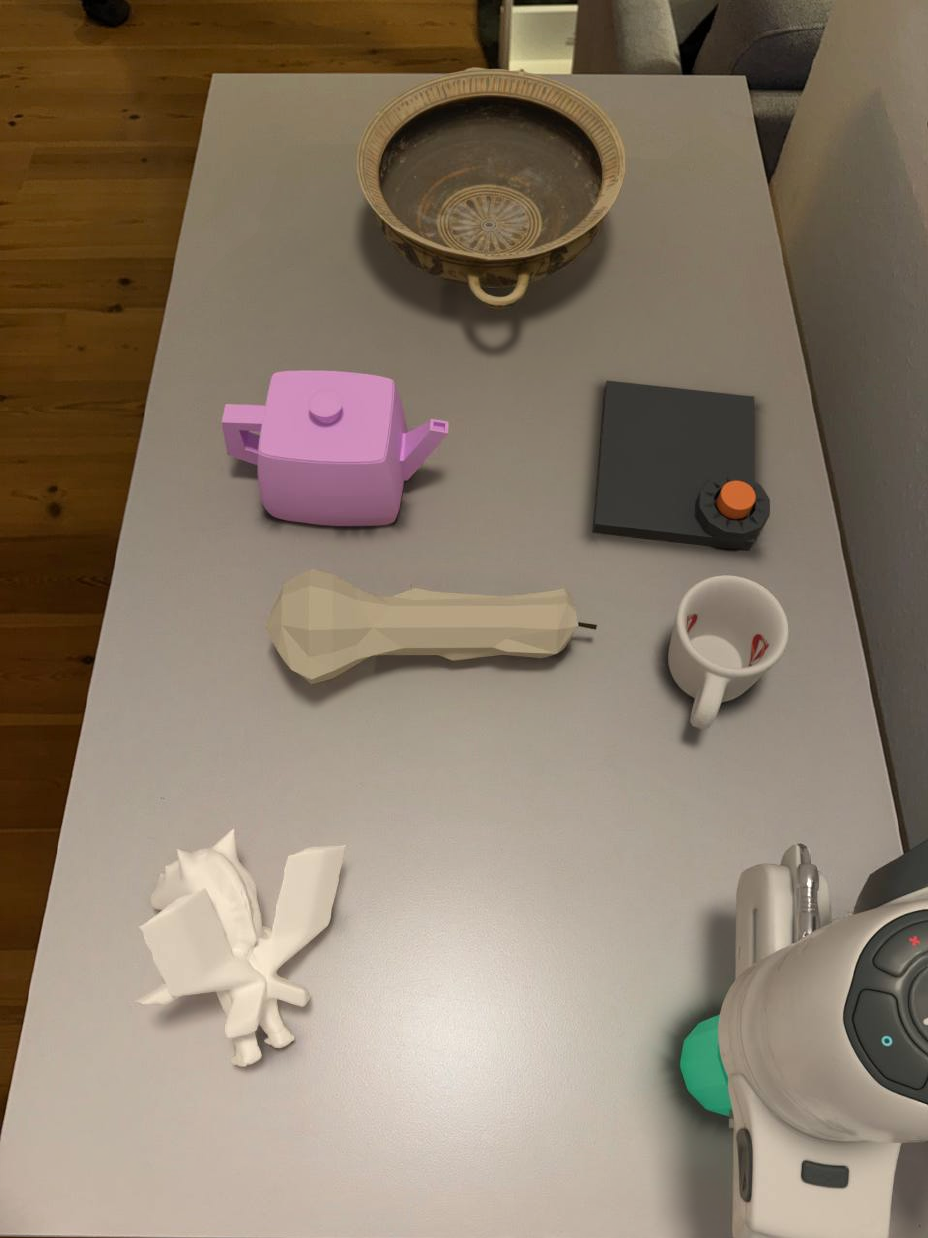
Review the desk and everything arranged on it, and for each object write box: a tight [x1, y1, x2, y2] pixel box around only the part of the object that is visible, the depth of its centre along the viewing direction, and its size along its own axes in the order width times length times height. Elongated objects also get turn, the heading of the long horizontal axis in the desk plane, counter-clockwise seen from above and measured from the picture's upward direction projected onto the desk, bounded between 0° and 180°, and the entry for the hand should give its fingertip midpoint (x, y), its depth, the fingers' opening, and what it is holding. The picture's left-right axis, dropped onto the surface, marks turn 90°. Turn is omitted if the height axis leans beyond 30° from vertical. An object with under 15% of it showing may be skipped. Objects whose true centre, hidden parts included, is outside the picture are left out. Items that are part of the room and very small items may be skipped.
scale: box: [592, 380, 771, 551], centre depth 87 cm, size 14×15×3 cm
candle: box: [679, 1013, 732, 1117], centre depth 62 cm, size 6×6×12 cm
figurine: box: [133, 828, 347, 1068], centre depth 66 cm, size 15×12×14 cm
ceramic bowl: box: [355, 66, 627, 309], centre depth 95 cm, size 30×24×10 cm
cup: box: [667, 574, 790, 730], centre depth 75 cm, size 11×8×8 cm
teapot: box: [221, 369, 449, 527], centre depth 83 cm, size 18×10×10 cm, turn 86°
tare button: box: [717, 481, 756, 519], centre depth 83 cm, size 3×3×2 cm
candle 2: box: [264, 567, 598, 685], centre depth 77 cm, size 9×8×25 cm
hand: (742, 1058), depth 63 cm, fingers closed on candle, 5 cm apart
